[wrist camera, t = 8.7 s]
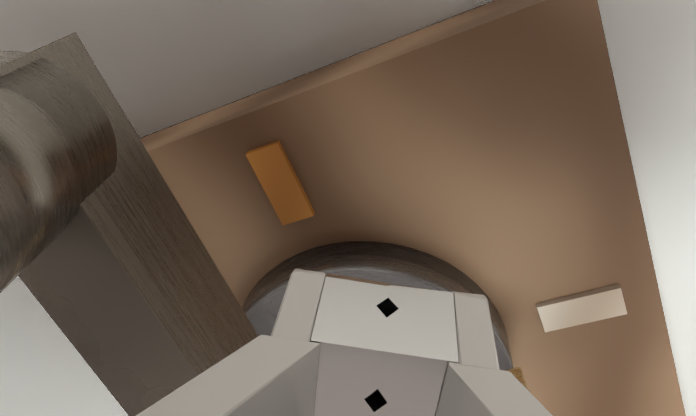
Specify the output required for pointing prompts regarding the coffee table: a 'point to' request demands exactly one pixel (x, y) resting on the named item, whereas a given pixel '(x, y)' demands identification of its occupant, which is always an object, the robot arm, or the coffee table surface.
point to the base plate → (456, 188)
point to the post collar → (373, 265)
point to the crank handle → (105, 233)
